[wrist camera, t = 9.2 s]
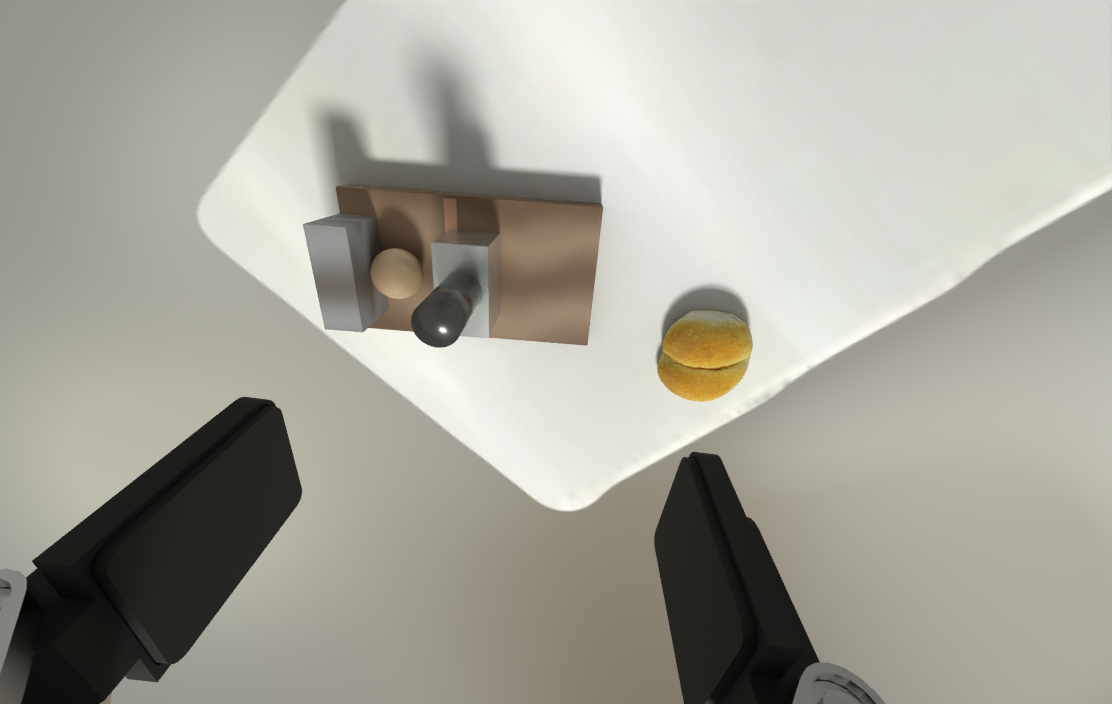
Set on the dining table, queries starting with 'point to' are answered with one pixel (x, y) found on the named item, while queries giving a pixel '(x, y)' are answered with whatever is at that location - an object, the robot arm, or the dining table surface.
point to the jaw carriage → (461, 289)
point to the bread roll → (705, 355)
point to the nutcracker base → (406, 261)
